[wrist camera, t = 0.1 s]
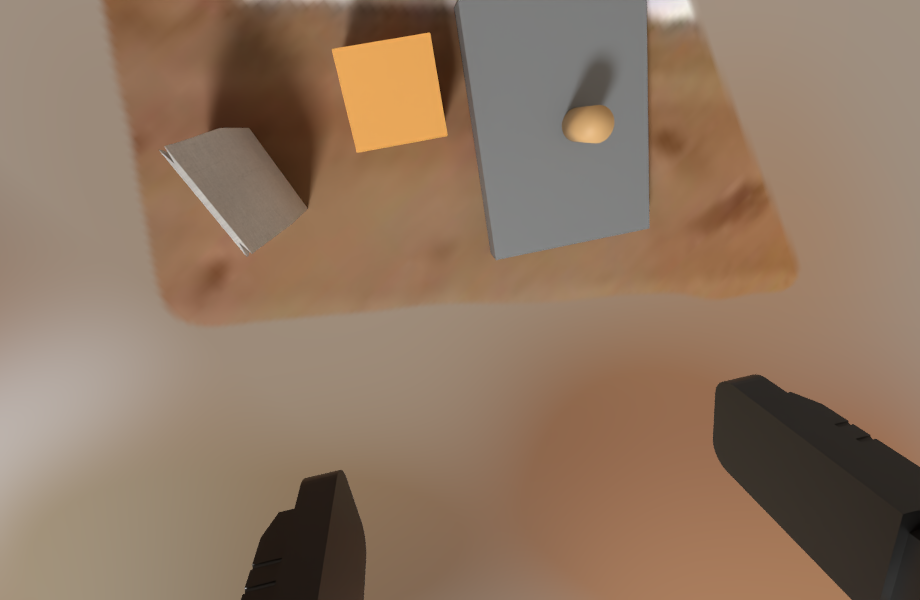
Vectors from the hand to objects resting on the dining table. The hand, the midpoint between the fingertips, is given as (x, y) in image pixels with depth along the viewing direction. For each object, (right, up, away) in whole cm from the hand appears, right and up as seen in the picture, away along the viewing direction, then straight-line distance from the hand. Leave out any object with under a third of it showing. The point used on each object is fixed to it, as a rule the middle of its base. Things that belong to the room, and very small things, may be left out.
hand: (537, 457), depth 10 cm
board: (+6, +17, +26) cm, 31 cm away
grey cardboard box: (-17, +12, +24) cm, 32 cm away
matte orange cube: (-7, +18, +23) cm, 30 cm away
